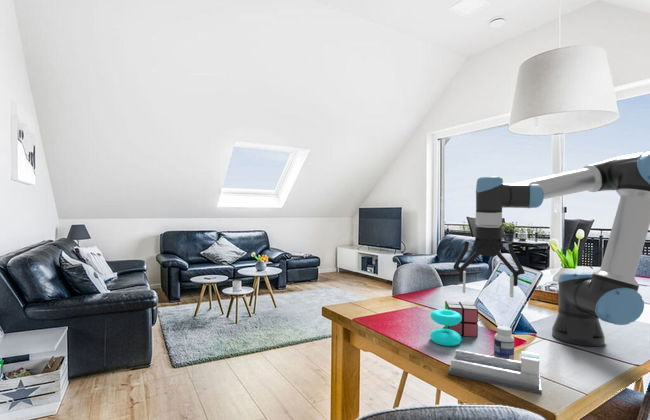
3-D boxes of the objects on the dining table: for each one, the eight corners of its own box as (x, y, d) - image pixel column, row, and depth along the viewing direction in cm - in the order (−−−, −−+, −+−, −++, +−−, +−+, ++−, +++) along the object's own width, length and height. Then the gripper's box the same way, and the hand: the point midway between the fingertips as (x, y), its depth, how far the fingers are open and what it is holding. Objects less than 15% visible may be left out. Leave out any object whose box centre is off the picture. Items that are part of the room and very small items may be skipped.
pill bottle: (491, 355, 113) (492, 324, 113) (510, 357, 112) (511, 325, 112) (496, 363, 107) (496, 330, 107) (516, 365, 106) (516, 331, 106)
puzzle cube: (477, 337, 128) (478, 309, 128) (447, 335, 130) (448, 307, 130) (472, 328, 138) (472, 302, 138) (444, 326, 140) (444, 300, 140)
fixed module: (538, 376, 97) (538, 353, 97) (539, 385, 93) (539, 361, 92) (520, 372, 99) (521, 350, 99) (520, 381, 94) (521, 357, 94)
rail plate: (539, 376, 100) (539, 363, 100) (541, 394, 90) (541, 380, 90) (454, 359, 110) (454, 347, 110) (448, 374, 100) (448, 361, 100)
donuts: (455, 308, 129) (466, 317, 119) (455, 336, 129) (466, 347, 119) (427, 308, 129) (435, 316, 119) (426, 336, 129) (435, 347, 119)
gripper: (531, 227, 114) (530, 295, 114) (447, 224, 123) (446, 287, 123) (536, 228, 107) (534, 301, 107) (445, 225, 116) (444, 292, 116)
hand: (487, 294), depth 115 cm, fingers open, 13 cm apart
